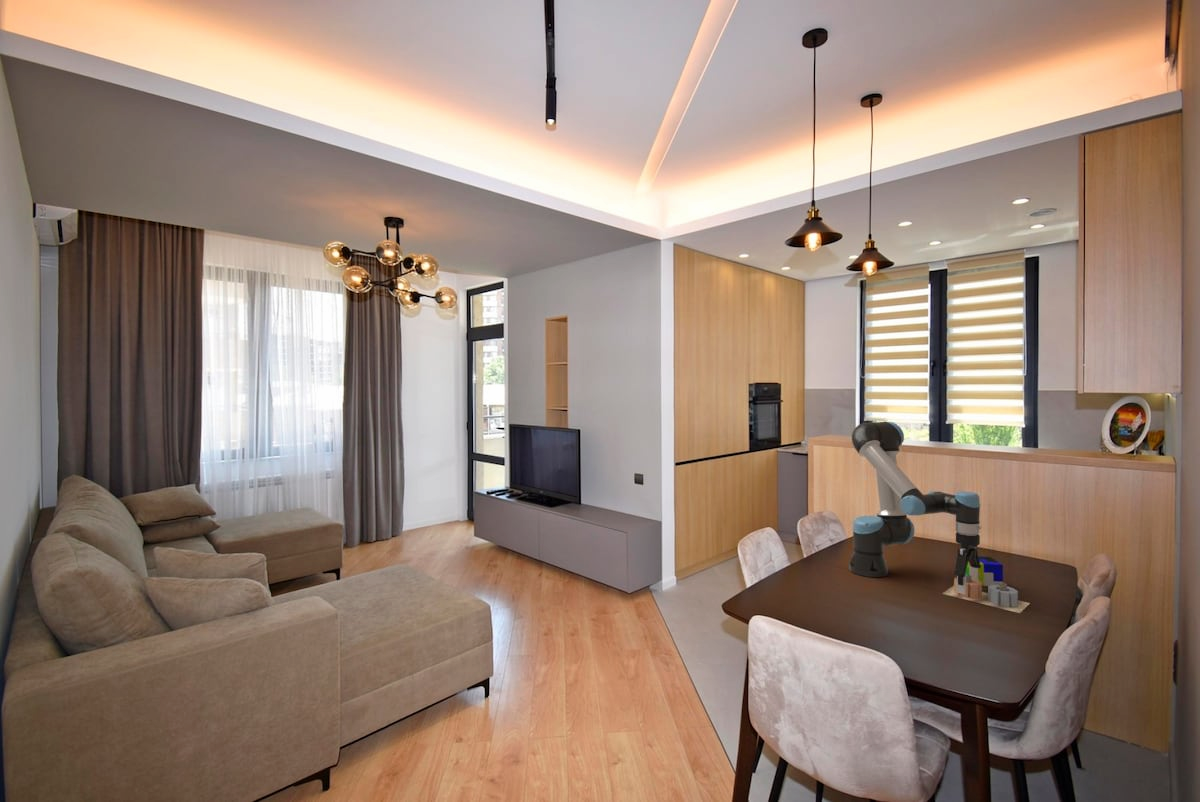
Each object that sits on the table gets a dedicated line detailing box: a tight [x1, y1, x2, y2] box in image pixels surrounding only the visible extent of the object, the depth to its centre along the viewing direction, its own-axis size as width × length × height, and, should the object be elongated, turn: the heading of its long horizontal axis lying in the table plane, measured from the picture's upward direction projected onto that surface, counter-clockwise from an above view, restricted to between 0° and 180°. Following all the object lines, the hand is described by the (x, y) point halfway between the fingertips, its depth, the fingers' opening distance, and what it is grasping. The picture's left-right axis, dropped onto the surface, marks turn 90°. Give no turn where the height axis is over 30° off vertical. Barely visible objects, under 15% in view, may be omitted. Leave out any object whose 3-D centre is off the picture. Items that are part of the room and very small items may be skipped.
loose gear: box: [953, 576, 983, 598], centre depth 204 cm, size 8×8×5 cm
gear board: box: [941, 575, 1031, 614], centre depth 200 cm, size 24×13×8 cm, turn 39°
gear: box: [987, 585, 1019, 607], centre depth 196 cm, size 8×8×5 cm
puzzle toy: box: [965, 556, 1004, 587], centre depth 216 cm, size 10×10×10 cm
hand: (967, 588), depth 204 cm, fingers open, 13 cm apart
